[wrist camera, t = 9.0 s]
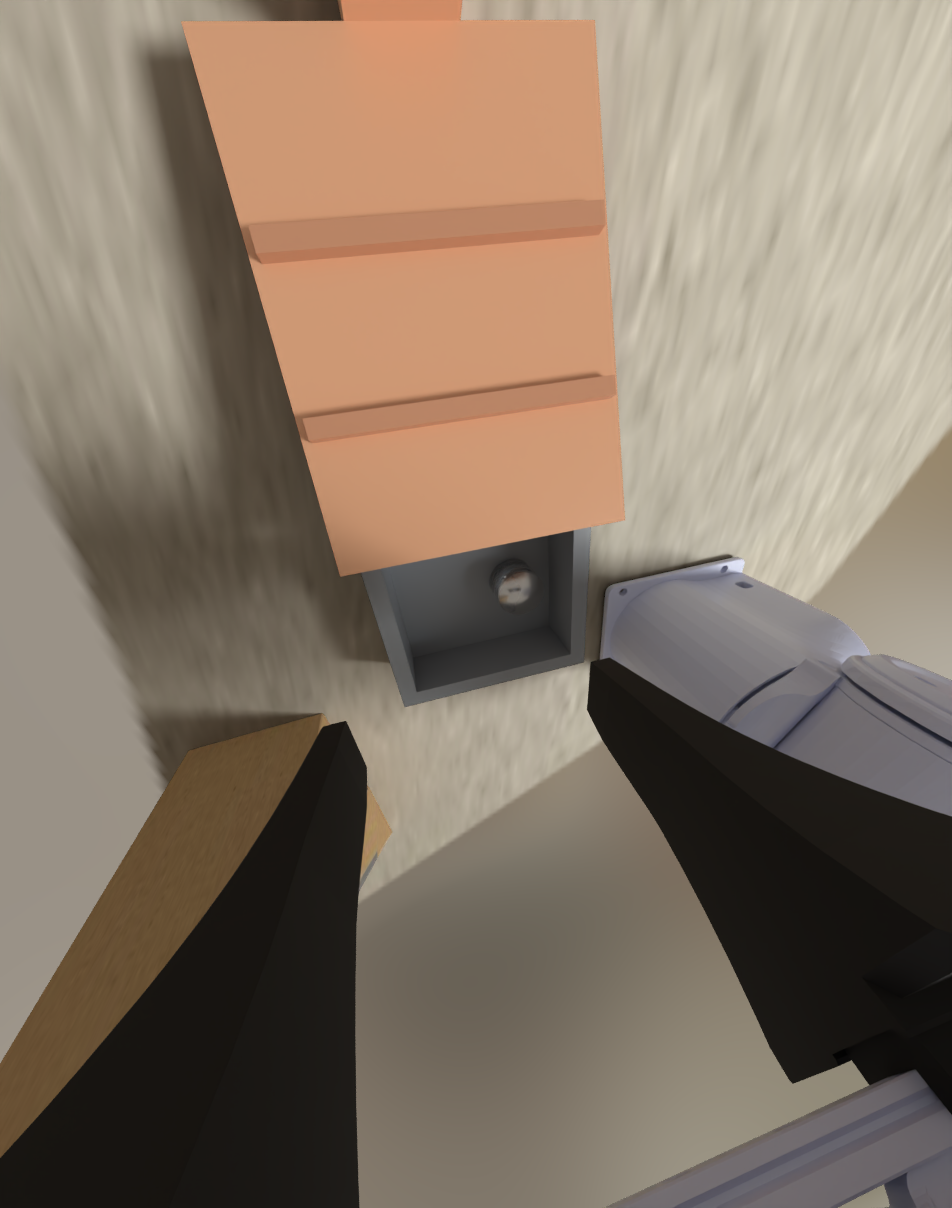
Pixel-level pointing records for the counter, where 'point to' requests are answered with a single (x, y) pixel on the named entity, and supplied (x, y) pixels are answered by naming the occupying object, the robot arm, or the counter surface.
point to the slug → (516, 586)
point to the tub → (480, 617)
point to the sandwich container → (158, 905)
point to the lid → (428, 266)
